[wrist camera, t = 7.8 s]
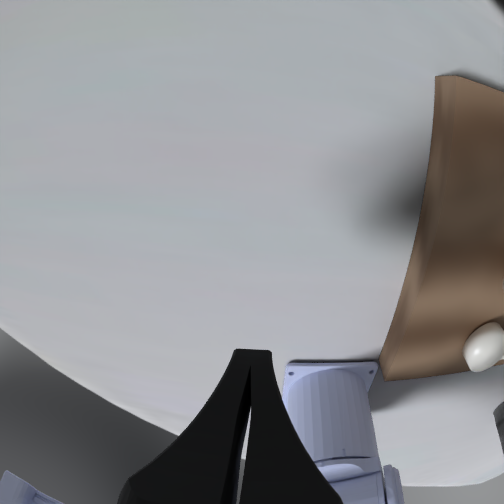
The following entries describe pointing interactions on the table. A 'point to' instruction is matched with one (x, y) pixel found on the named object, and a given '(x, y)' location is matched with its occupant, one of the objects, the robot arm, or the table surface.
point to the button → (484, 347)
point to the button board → (454, 238)
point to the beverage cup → (500, 422)
